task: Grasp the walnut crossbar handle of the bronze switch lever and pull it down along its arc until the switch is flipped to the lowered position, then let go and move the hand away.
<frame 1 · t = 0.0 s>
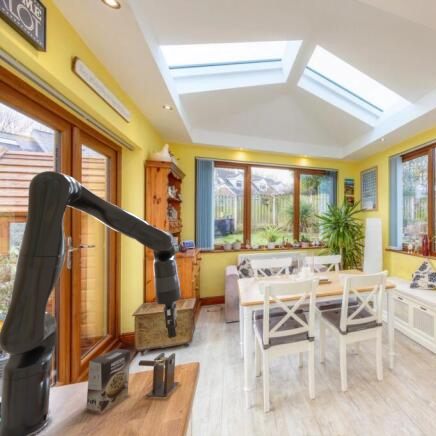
hand: (173, 332, 92), 22 cm above the table, tool pointing down, fingers open, 8 cm apart
switch bracket: (163, 391, 94), on the table
coffee box: (108, 404, 87), on the table
switch lever: (157, 362, 89), point 13 cm above the table, hinge at 25.0°
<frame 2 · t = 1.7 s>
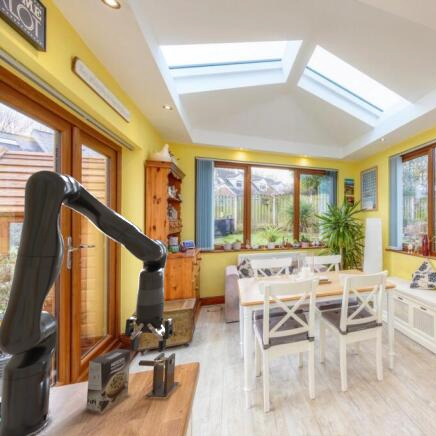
hand: (148, 350, 85), 19 cm above the table, tool pointing down, fingers open, 8 cm apart
nothing on the table moved.
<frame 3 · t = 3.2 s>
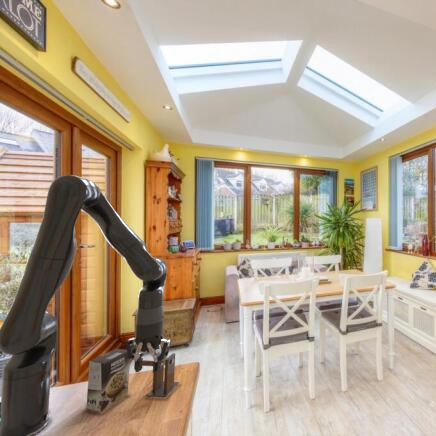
hand: (147, 371, 85), 13 cm above the table, tool pointing down, fingers closed on switch lever, 5 cm apart
switch lever: (157, 362, 89), point 13 cm above the table, hinge at 25.0°, touching gripper
everything else where it was.
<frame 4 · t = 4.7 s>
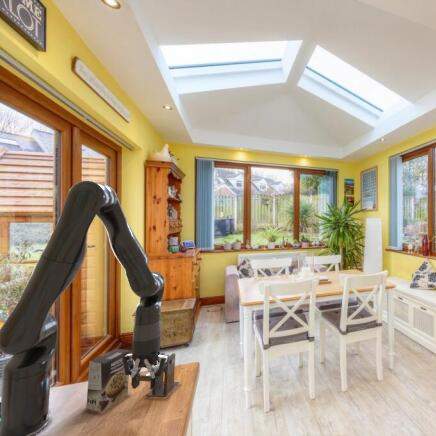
hand: (144, 387, 84), 8 cm above the table, tool pointing down, fingers closed on switch lever, 5 cm apart
switch lever: (156, 368, 89), point 11 cm above the table, hinge at -0.6°, touching gripper
everything else where it was.
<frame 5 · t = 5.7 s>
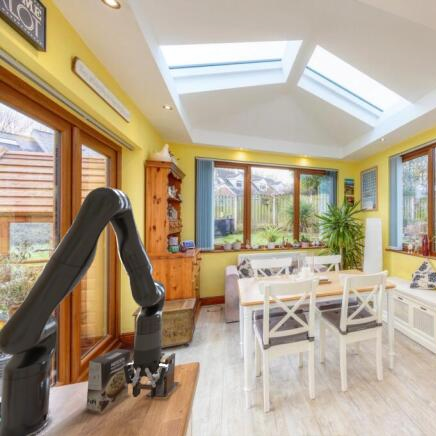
hand: (145, 395, 84), 5 cm above the table, tool pointing down, fingers closed on switch lever, 5 cm apart
switch lever: (156, 372, 89), point 10 cm above the table, hinge at -18.2°, touching gripper
everything else where it was.
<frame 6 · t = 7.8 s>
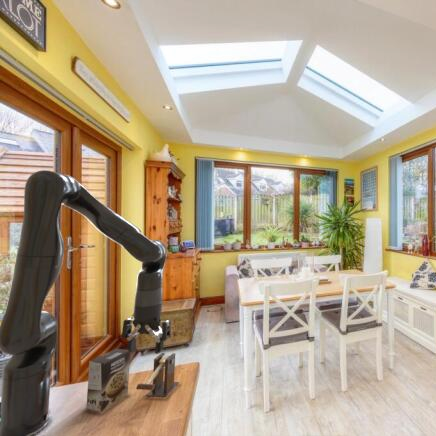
hand: (145, 351, 84), 19 cm above the table, tool pointing down, fingers open, 8 cm apart
switch lever: (156, 372, 89), point 10 cm above the table, hinge at -18.6°
everything else where it was.
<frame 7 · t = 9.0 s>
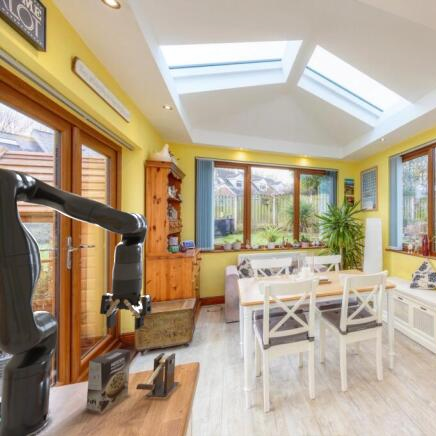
hand: (125, 328, 81), 28 cm above the table, tool pointing down, fingers open, 8 cm apart
nothing on the table moved.
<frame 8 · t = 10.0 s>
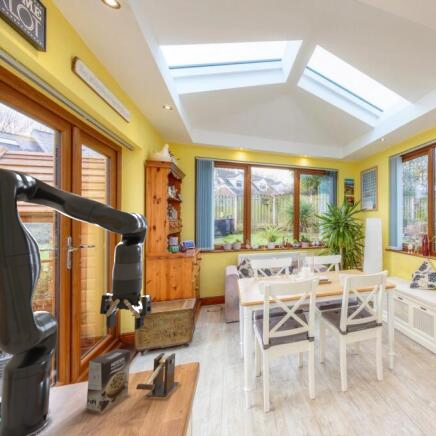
hand: (125, 328, 81), 28 cm above the table, tool pointing down, fingers open, 8 cm apart
nothing on the table moved.
at the end: switch lever at -19° (first picture: +25°); the gripper is holding nothing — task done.
